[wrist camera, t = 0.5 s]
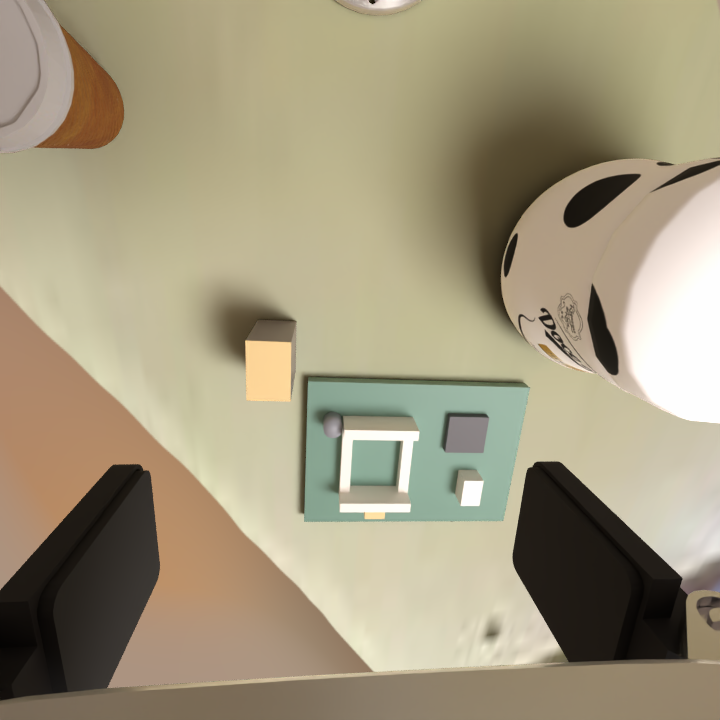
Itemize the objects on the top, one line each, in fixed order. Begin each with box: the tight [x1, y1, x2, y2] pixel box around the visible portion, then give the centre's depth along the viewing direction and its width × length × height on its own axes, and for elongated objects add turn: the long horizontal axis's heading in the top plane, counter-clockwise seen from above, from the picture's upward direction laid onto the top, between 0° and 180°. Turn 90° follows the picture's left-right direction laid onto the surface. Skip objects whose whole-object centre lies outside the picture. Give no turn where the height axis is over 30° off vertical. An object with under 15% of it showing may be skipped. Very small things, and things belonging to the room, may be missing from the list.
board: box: [304, 377, 530, 522], centre depth 44 cm, size 16×22×4 cm
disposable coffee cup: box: [0, 0, 124, 153], centre depth 28 cm, size 10×10×12 cm
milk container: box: [501, 158, 720, 423], centre depth 32 cm, size 17×17×18 cm
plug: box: [245, 320, 296, 401], centre depth 38 cm, size 6×4×7 cm, turn 176°
